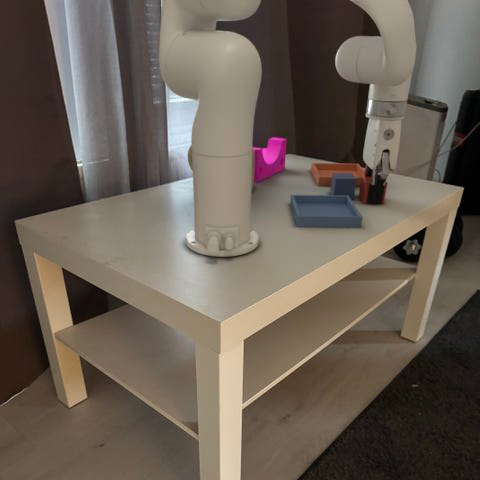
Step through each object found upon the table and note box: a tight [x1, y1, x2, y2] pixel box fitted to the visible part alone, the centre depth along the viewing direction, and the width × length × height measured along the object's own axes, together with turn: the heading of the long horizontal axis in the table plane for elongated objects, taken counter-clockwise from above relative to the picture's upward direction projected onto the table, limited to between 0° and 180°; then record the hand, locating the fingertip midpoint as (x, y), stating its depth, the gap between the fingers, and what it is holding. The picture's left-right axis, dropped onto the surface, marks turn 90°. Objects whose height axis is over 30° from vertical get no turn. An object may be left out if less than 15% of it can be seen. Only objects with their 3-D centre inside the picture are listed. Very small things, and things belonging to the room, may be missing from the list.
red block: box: [358, 177, 388, 204], centre depth 104 cm, size 4×4×4 cm
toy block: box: [252, 136, 288, 183], centre depth 121 cm, size 15×6×8 cm, turn 149°
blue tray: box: [289, 194, 363, 228], centre depth 96 cm, size 13×12×2 cm
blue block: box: [329, 173, 357, 200], centre depth 107 cm, size 4×4×4 cm
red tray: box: [310, 162, 365, 187], centre depth 120 cm, size 13×12×2 cm
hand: (371, 198), depth 105 cm, fingers closed on red block, 4 cm apart
